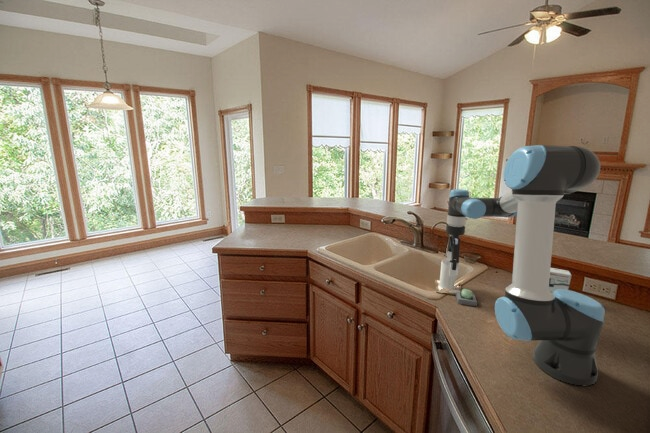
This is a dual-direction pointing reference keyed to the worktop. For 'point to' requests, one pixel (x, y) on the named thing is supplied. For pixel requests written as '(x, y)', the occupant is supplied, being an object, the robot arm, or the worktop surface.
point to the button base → (466, 301)
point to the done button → (466, 294)
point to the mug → (447, 275)
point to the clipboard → (452, 292)
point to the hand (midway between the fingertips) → (450, 270)
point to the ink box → (559, 279)
